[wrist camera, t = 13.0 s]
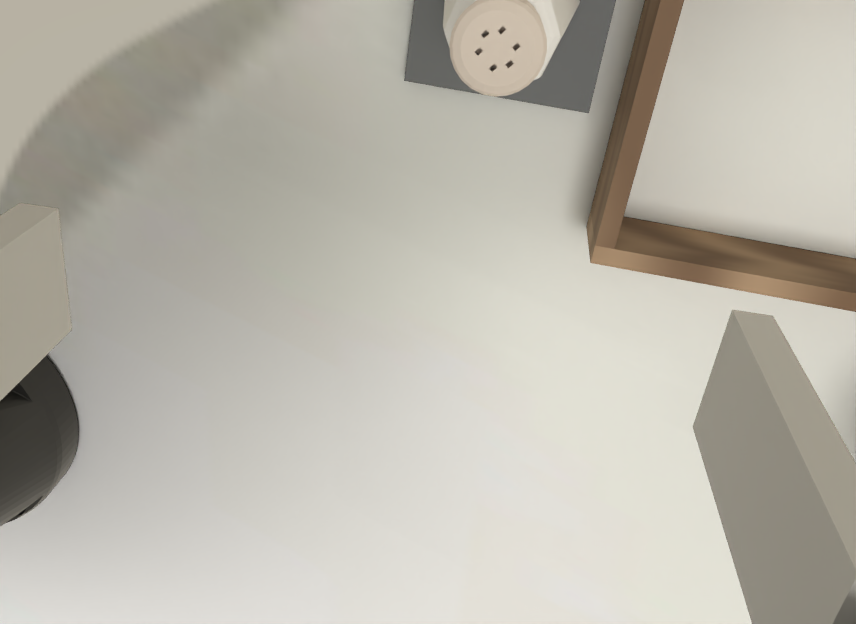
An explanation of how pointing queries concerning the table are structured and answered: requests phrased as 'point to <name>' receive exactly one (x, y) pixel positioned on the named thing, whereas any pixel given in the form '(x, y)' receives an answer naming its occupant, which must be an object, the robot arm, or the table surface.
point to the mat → (557, 87)
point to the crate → (684, 247)
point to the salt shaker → (504, 40)
